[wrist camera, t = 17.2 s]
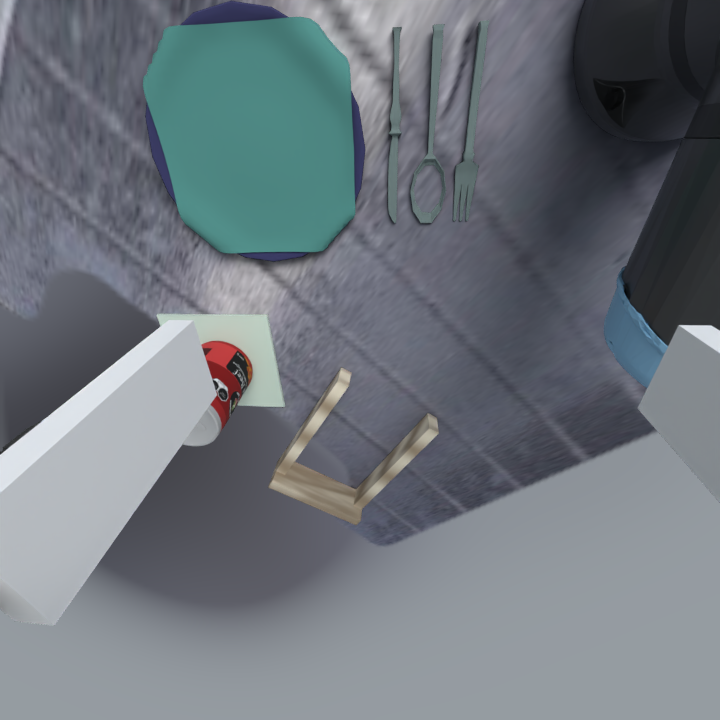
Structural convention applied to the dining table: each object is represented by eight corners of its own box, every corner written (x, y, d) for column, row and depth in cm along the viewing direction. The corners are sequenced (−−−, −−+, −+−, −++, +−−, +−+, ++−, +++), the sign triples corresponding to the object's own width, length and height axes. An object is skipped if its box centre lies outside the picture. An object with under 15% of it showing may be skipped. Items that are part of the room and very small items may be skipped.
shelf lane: (341, 367, 45) (335, 390, 41) (436, 417, 48) (440, 444, 44) (277, 461, 56) (268, 487, 52) (359, 497, 59) (356, 525, 55)
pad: (267, 314, 42) (266, 316, 42) (285, 405, 50) (284, 407, 50) (158, 313, 44) (156, 315, 43) (191, 402, 51) (189, 403, 51)
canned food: (252, 393, 49) (217, 454, 40) (195, 378, 48) (146, 436, 39) (257, 348, 45) (220, 403, 35) (195, 331, 44) (141, 383, 35)
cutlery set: (122, 16, 29) (103, 8, 27) (498, -11, 27) (506, -22, 25) (193, 257, 40) (182, 263, 38) (464, 254, 37) (468, 261, 35)
